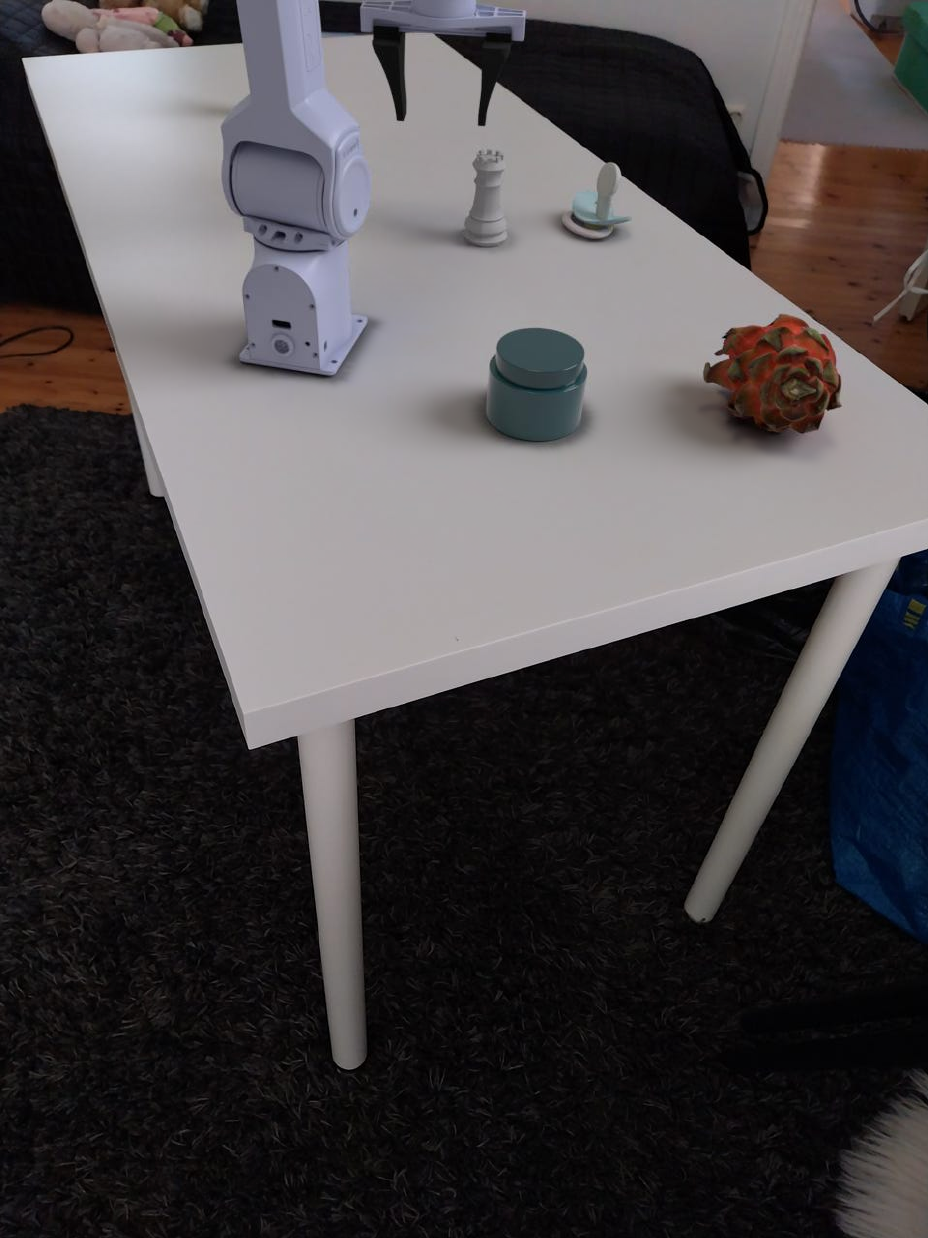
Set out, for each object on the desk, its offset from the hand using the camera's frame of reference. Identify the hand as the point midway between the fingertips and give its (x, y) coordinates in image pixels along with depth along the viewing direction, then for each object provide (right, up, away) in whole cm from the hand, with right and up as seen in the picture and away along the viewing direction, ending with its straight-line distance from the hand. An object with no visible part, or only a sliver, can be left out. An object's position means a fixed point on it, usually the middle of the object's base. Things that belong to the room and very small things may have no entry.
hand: (441, 119), depth 91 cm
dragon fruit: (+25, -32, -17) cm, 44 cm away
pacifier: (+15, -7, +7) cm, 18 cm away
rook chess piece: (+4, -10, +4) cm, 11 cm away
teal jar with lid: (+7, -32, -18) cm, 37 cm away
